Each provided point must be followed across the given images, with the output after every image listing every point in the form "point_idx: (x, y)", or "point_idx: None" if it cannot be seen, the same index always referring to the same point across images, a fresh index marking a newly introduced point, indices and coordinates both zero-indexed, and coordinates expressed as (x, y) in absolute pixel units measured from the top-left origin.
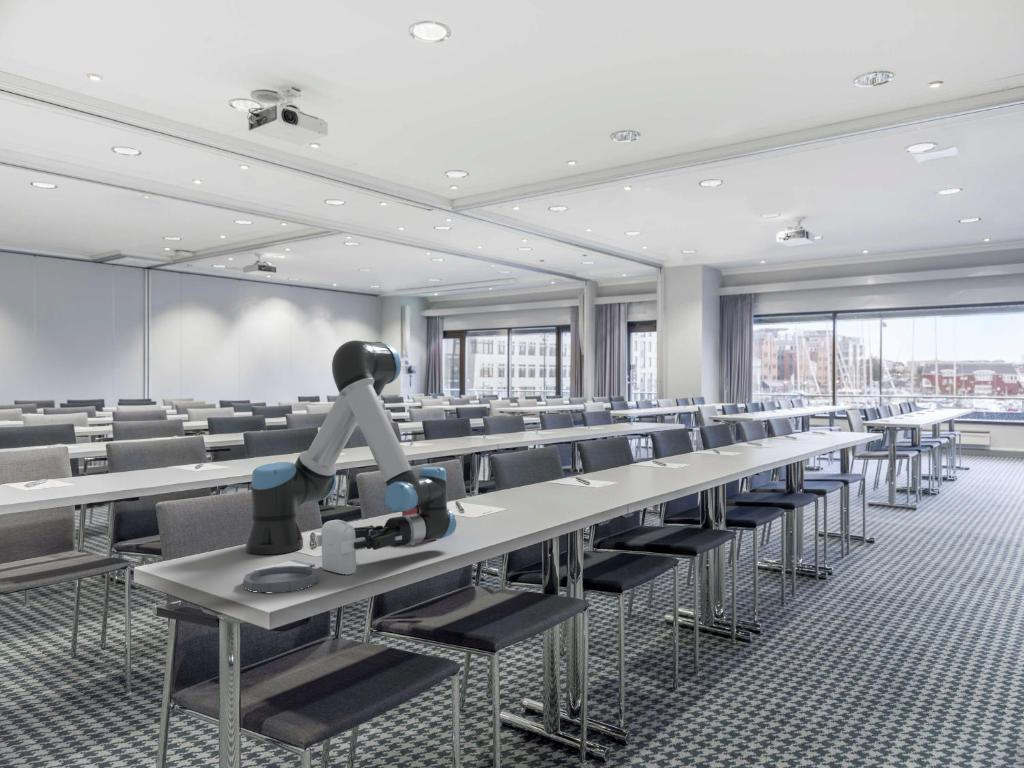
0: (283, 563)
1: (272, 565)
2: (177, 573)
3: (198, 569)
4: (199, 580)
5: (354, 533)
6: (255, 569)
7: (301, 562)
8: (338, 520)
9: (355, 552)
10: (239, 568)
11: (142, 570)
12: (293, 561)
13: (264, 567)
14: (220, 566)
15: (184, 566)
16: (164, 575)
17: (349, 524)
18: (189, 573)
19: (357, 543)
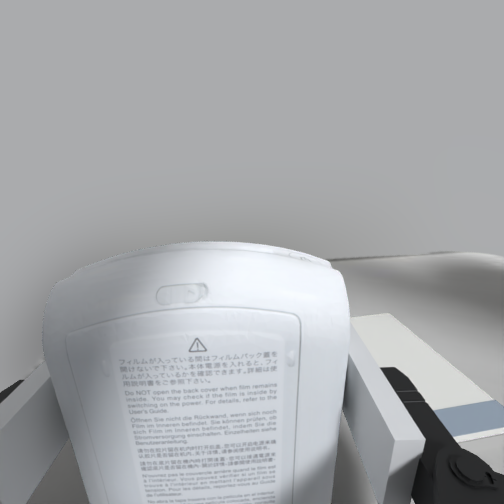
0: (451, 373)
1: (425, 346)
2: (425, 264)
3: (452, 279)
4: (356, 269)
5: (51, 356)
6: (388, 314)
7: (452, 421)
8: (206, 250)
9: (79, 466)
10: (440, 311)
11: (465, 252)
12: (481, 405)
13: (404, 329)
14: (476, 298)
15: (489, 274)
16: (416, 258)
17: (75, 276)
18: (419, 270)
19: (11, 389)
